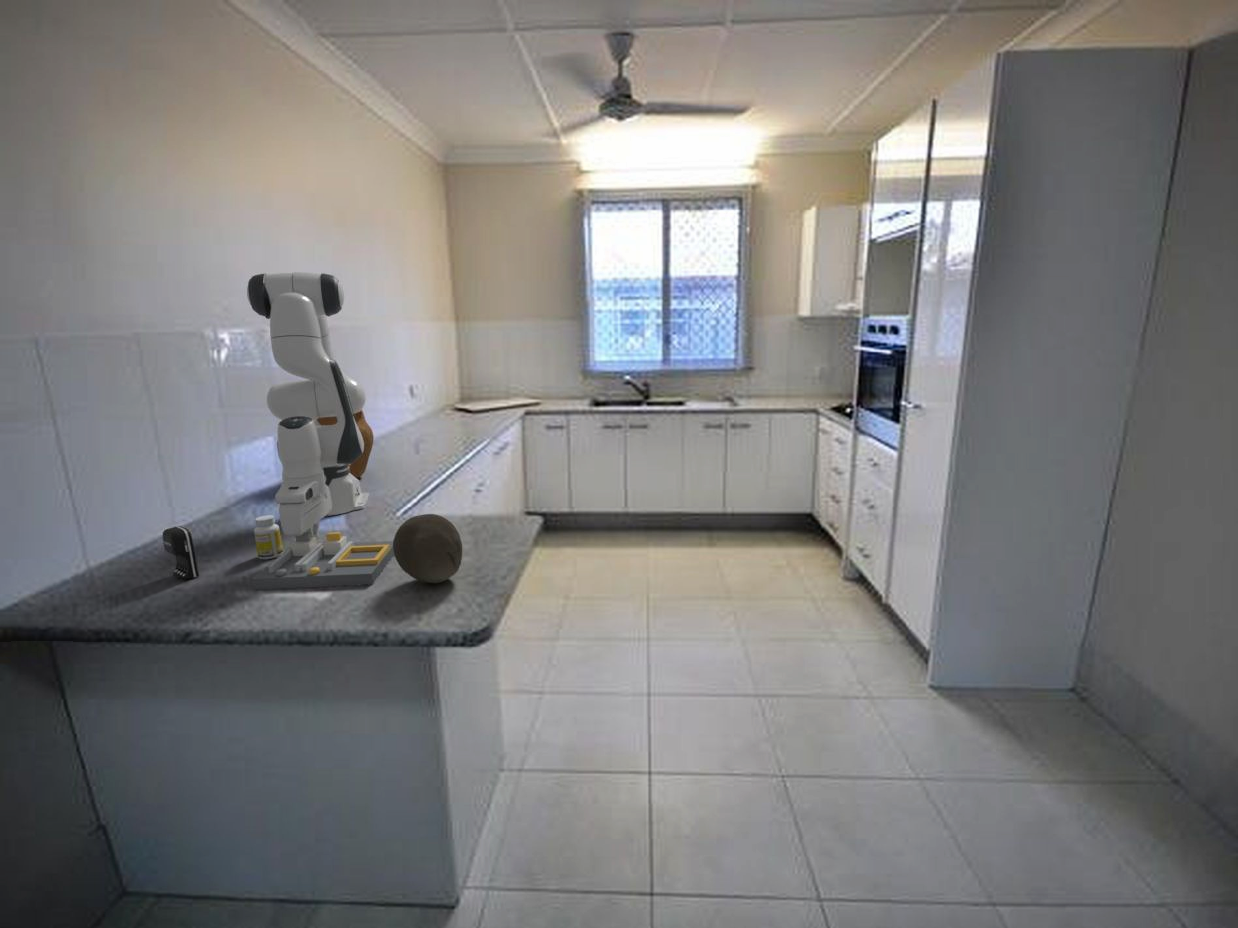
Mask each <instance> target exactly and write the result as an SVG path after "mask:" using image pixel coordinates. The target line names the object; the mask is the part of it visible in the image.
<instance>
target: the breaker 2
mask: <svg viewBox="0 0 1238 928" xmlns="http://www.w3.org/2000/svg"><path fill="white" fill-rule="evenodd" d="M325 536H326V539H325V540H324V541H322V543H323V551H324V555H336V554H337V553H338V552H339V551H340V550H341V549H342V548H343V547H344V546H345V545H346V544H347V543H348V541H347V539H348V537H347V536H345V535H344V536H342V532H341V531H336V532H335V531H334V532H327V533H326V534H325Z"/></svg>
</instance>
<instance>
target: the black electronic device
mask: <svg viewBox="0 0 1238 928" xmlns="http://www.w3.org/2000/svg"><path fill="white" fill-rule="evenodd" d="M162 543H163V548H164V550H165V552H167V553H169V554H170V555H173V556H175V559H176V560H175V561H176V566H175V569H174V571H173V573H172V575H173V576H174V577H176V578H178V579H180V580H182V581H183V580H184V581H186V580H191V579H195V578H198V577H199V575H200V573H199V569H198V565H197V558H196V553H195V545H194V541H193V536H192V534H191V531H190V529H188V528H186V527H184V526H181V525H175V526H172V527H168V528H166V529H164V531H163V532H162Z"/></svg>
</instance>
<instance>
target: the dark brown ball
mask: <svg viewBox="0 0 1238 928" xmlns="http://www.w3.org/2000/svg"><path fill="white" fill-rule="evenodd" d="M392 541H393V550H394V557H395V560H396V562H397V564H398V565H399V567H400V568H401V570H402V571H403V572H405V573H406V574H407V575H409V576H410V577H412V578H413V579H415V580H417V581H419V582H422V583H427V584H440V583H444V582H445V581H447V580H449V579H450V578H451V577H453V576H454V575H455V574H456V573H457V572H458V571H459V569H460V568H461V565H462V564H461V563H462V559H463V544H462V543H463V541H462V537H461V535H460V533H459V531H458V530H457V528H456V526H455V525H454V524H453V523H452V522H451V521H450V520H448V519H447V518H445V517H444V516H442V515H438V514H435V513H425V514H420V515H414V516H412V517H410V518H408V519H406V520H405V521H404V522H403V523H402V524H401V525H400V526H399V527H398V529H397V531H396V533H395V536H394V538H393V540H392Z"/></svg>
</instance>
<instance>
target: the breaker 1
mask: <svg viewBox="0 0 1238 928" xmlns="http://www.w3.org/2000/svg"><path fill="white" fill-rule="evenodd" d="M294 537H295V541H293V543H291V544H290V547H291V546H292V552H293V556H305V555H306V554H307V553H308V552H309V551H310V550H311V549H313V548H314V547H315V546H316V545H317V544H318V543H317V542H318V540H316V538H311V533H305V534H302V535H301V536H294Z"/></svg>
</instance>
